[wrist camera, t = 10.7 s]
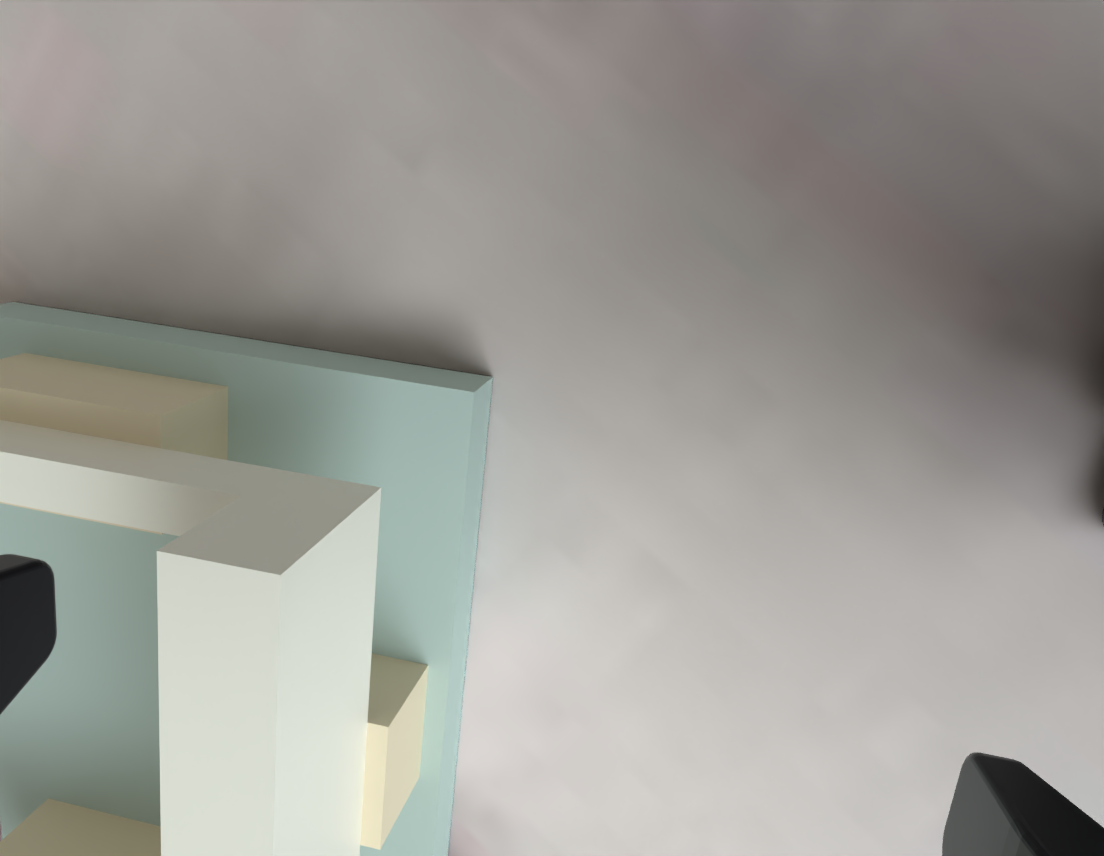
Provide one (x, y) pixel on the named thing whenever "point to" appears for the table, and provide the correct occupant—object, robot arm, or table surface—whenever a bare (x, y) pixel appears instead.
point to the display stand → (131, 553)
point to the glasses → (237, 632)
